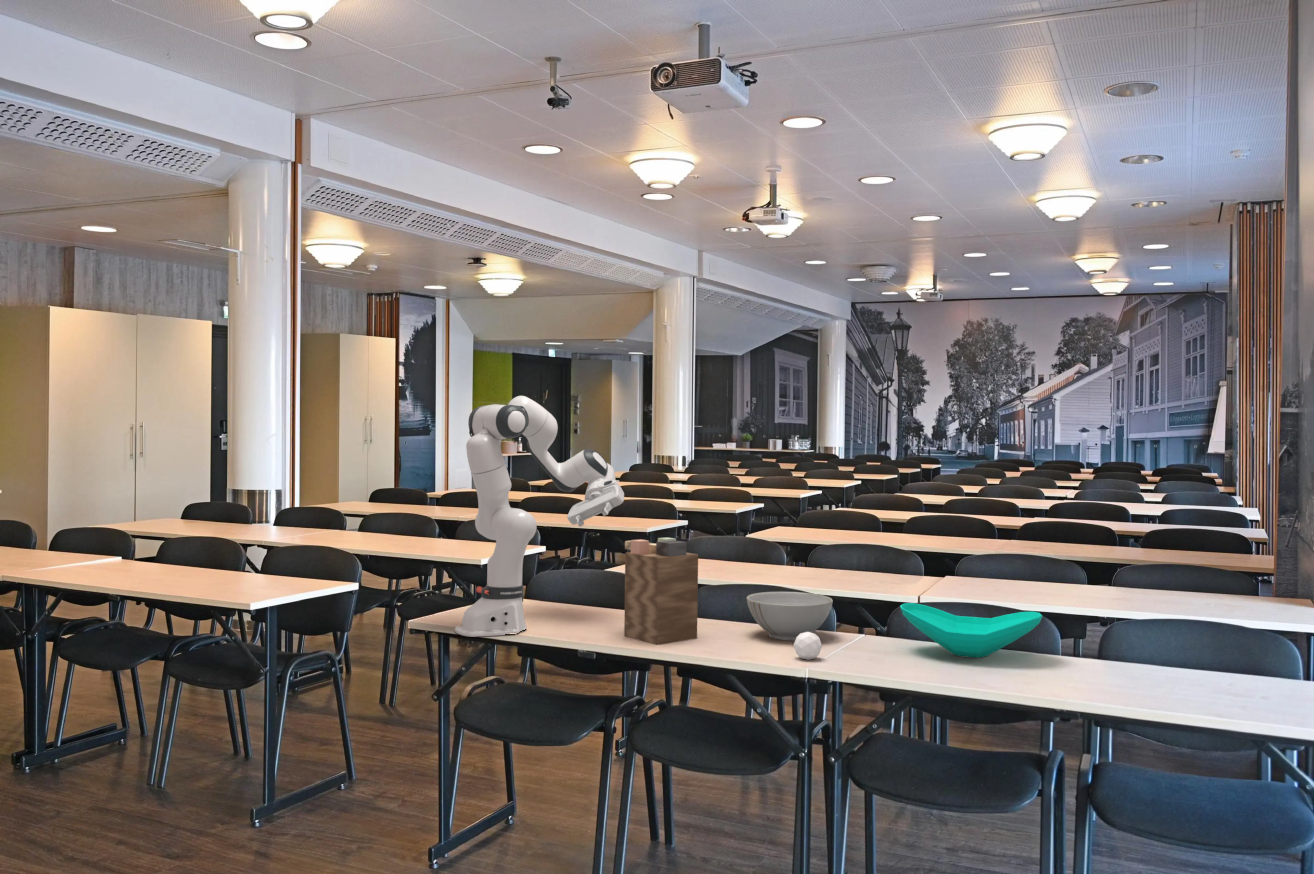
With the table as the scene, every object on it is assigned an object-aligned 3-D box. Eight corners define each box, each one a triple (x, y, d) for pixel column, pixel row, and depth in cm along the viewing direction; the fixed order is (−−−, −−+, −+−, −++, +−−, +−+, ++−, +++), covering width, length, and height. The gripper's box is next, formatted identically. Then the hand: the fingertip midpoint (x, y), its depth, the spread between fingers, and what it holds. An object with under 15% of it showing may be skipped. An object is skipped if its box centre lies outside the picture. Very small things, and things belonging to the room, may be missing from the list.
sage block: (657, 550, 332) (657, 538, 332) (667, 549, 334) (667, 537, 334) (666, 552, 329) (666, 539, 329) (675, 551, 331) (675, 538, 331)
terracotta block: (630, 553, 325) (630, 540, 324) (640, 552, 327) (640, 539, 327) (638, 554, 321) (639, 541, 321) (648, 553, 324) (649, 540, 324)
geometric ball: (811, 670, 295) (812, 651, 290) (787, 656, 299) (788, 637, 294) (826, 653, 300) (827, 634, 295) (802, 640, 304) (804, 621, 299)
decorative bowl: (732, 639, 323) (733, 600, 323) (765, 625, 347) (765, 589, 347) (815, 648, 311) (816, 608, 311) (843, 633, 334) (844, 595, 334)
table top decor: (1042, 652, 310) (1043, 607, 310) (1040, 672, 284) (1041, 623, 284) (906, 640, 324) (906, 598, 324) (892, 658, 299) (893, 612, 299)
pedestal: (624, 636, 326) (625, 552, 326) (663, 630, 336) (664, 549, 336) (657, 644, 314) (658, 557, 314) (697, 638, 324) (698, 554, 324)
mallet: (620, 549, 335) (620, 536, 335) (637, 547, 339) (637, 535, 339) (669, 556, 317) (669, 543, 317) (686, 555, 321) (686, 542, 321)
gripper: (567, 500, 355) (560, 523, 343) (618, 477, 349) (613, 500, 337) (577, 514, 358) (570, 537, 346) (628, 491, 351) (623, 514, 339)
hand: (592, 519), depth 341 cm, fingers open, 8 cm apart
